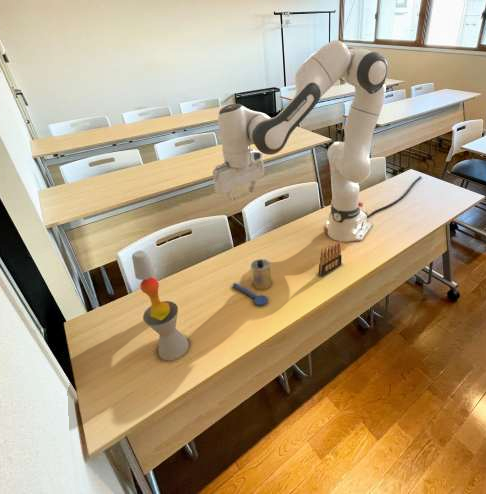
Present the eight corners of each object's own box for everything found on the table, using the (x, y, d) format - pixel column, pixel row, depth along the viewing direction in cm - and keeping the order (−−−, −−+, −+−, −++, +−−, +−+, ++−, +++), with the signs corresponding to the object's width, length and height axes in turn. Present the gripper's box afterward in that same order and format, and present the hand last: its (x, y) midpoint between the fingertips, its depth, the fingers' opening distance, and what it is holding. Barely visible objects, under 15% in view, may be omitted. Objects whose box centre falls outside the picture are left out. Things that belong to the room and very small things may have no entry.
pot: (262, 275, 127) (259, 254, 121) (275, 282, 123) (273, 260, 117) (249, 284, 122) (246, 262, 117) (262, 292, 119) (260, 270, 113)
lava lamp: (151, 354, 98) (109, 259, 78) (172, 332, 105) (139, 239, 85) (175, 365, 95) (138, 268, 75) (195, 341, 102) (166, 247, 81)
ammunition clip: (338, 262, 132) (339, 237, 126) (341, 264, 131) (343, 239, 124) (318, 274, 127) (318, 248, 120) (321, 276, 126) (322, 250, 119)
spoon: (229, 288, 121) (229, 285, 120) (238, 282, 124) (238, 279, 123) (261, 308, 113) (260, 305, 112) (269, 300, 115) (269, 297, 115)
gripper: (218, 170, 101) (225, 210, 109) (265, 151, 114) (268, 188, 122) (205, 165, 104) (213, 204, 112) (252, 147, 117) (256, 184, 125)
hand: (242, 196), depth 117 cm, fingers open, 8 cm apart
